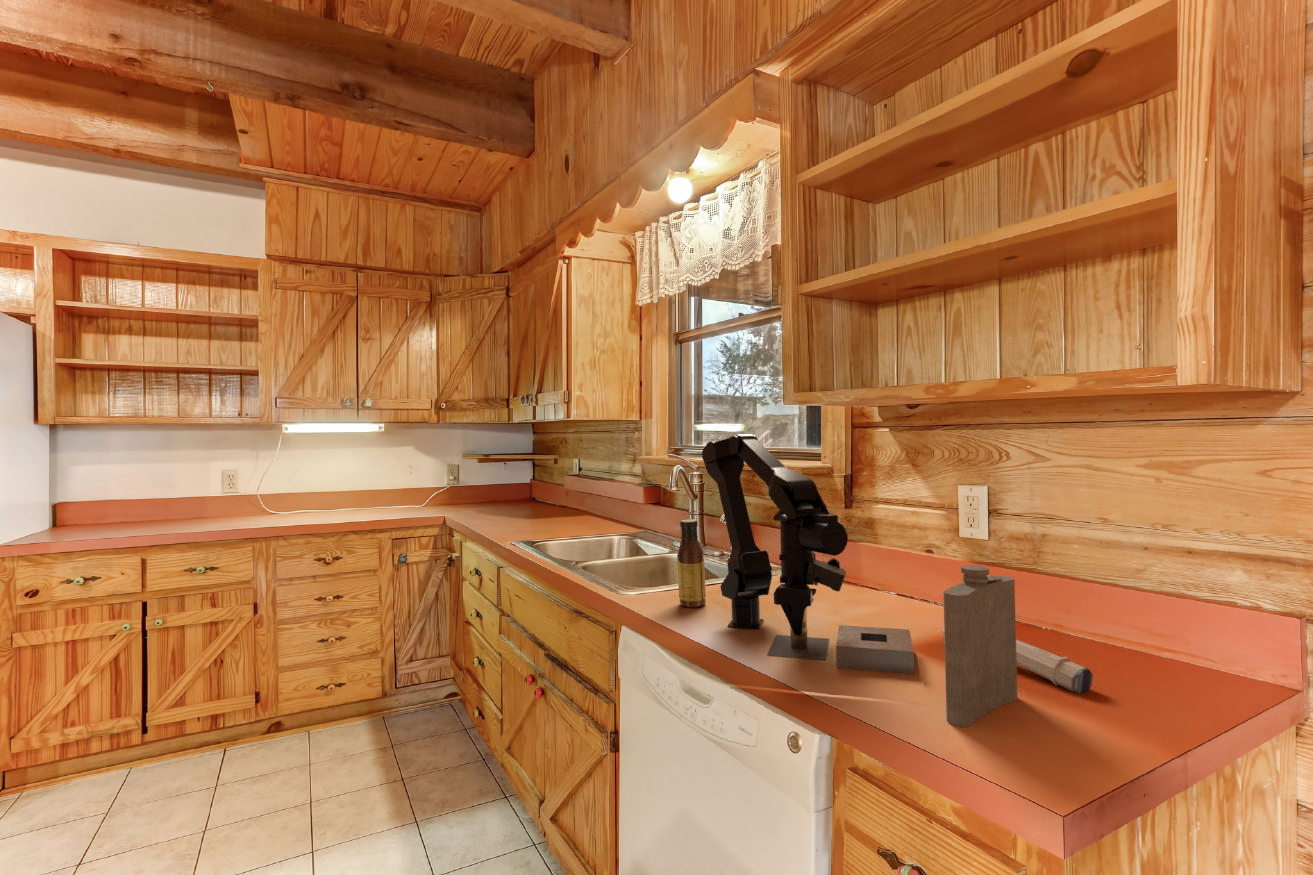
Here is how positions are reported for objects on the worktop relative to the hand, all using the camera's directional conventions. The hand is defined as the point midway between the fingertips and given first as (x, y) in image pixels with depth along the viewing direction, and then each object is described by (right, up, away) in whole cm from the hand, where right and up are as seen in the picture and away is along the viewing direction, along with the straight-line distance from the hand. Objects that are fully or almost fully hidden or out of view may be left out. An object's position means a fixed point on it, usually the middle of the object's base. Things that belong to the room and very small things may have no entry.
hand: (798, 632), depth 117 cm
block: (+11, -3, -7) cm, 14 cm away
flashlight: (+32, -3, -11) cm, 34 cm away
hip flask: (+20, -3, -27) cm, 33 cm away
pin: (0, -3, 0) cm, 3 cm away
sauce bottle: (-18, -4, +32) cm, 37 cm away
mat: (0, -3, 0) cm, 3 cm away
